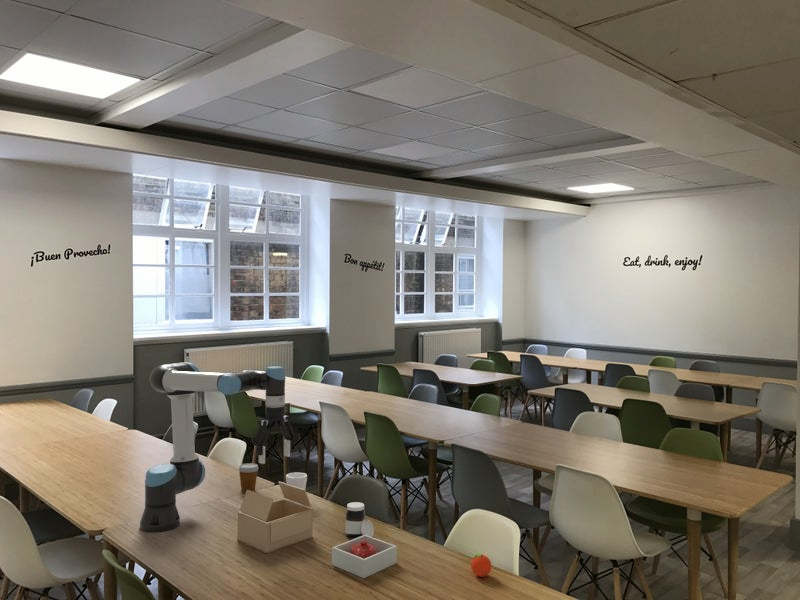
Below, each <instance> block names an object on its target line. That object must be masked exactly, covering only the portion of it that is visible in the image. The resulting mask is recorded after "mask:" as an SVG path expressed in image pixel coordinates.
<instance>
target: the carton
mask: <svg viewBox="0 0 800 600" xmlns="http://www.w3.org/2000/svg"><path fill="white" fill-rule="evenodd" d="M313 518H314V508H312V507H309V506H306V505H300V504H298V503H295V502H292V501H289V499H286V498H281V499H278V500H273V503H272V506H271V509H270V512H269V514H268V517H267V520H266V521H265V520H262V519H260V518H257V517H255V516H252V515H250V514H247V513H244V512H242V511H239V510H238V511H237V537H236V538H237V541H238V542H240V543H241V544H244V545H247V546H248V547H251V548H254V549H255V550H257V551H260V552H262V553H265V554H269V553H273V552H276V551H278V550H281V549H283V548H286V547H289V546H291V545H295V544H297V543H299V542H303V541H305V540H308V539H311V538H313V527H314V525H313V523H314V519H313Z"/></svg>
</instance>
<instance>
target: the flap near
mask: <svg viewBox="0 0 800 600" xmlns="http://www.w3.org/2000/svg"><path fill="white" fill-rule="evenodd" d="M274 501H275V499H274V497H273V498H272V497H269V496H268V495H267V496H266V495H264V494H261V493H258V492H255V491H250V490H247V491H246V492H245V494H244V497H243V499H242V503H241V505H240V507H239V509H238V512H239V511H242V512H244V513H247V514H250V515H252V516H255V517H257V518H260V519H262V520H265V521H266V520H267V517H268V514H269V512H270V509H271V506H272V503H273V502H274Z"/></svg>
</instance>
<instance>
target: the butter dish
mask: <svg viewBox="0 0 800 600" xmlns="http://www.w3.org/2000/svg"><path fill="white" fill-rule="evenodd" d="M350 554H353V555H356V556H358V557H361V558H363V559H365V558H367V557H370V556H372V555H374V554H377V550H376V549H375V548H374V546H372V545H371V544H368V543H367V541H366V540H362V541H360V544H358V545H355V546H353V547H352V548H351V549H350Z"/></svg>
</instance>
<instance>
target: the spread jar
mask: <svg viewBox="0 0 800 600" xmlns="http://www.w3.org/2000/svg"><path fill="white" fill-rule="evenodd" d="M346 504H347V505H346V507H347V508H346V512H345V534H346V535H345V536H347V537H349V538H358V537H360V536H363V535H367V536H370V537H373V536H374V533H375V528H374V524H373V522H372V521H371V520H369V519H367V520H366V511H365V504H364V503H363V502H359V501H358V502H357V501H355V502H349V503H346ZM373 538H374V537H373Z"/></svg>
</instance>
